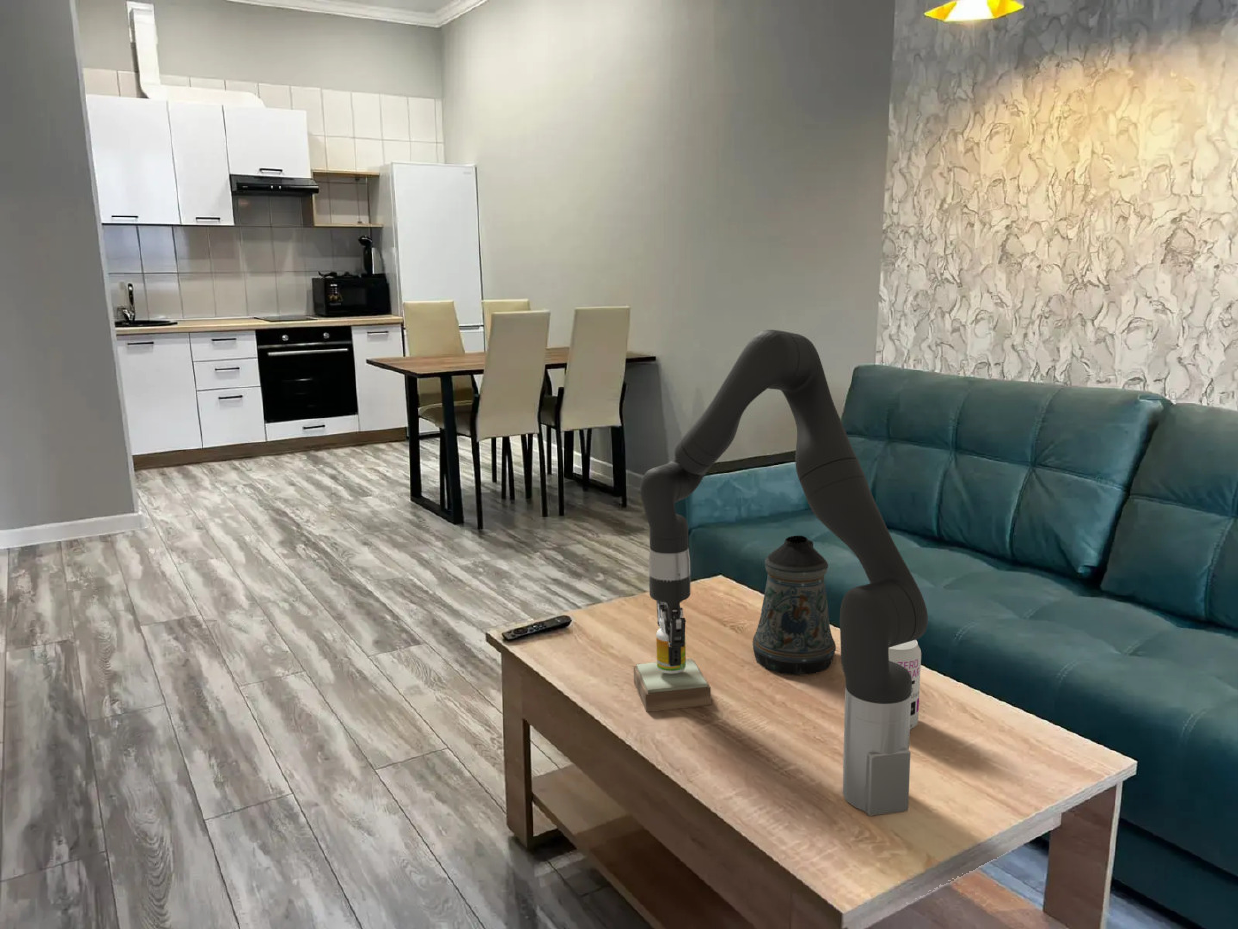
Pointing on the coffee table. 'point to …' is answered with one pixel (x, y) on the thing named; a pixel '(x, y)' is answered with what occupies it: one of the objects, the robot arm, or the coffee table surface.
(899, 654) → the supplement can
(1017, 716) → the coffee table surface
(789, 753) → the coffee table surface
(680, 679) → the plinth
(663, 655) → the supplement bottle
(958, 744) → the coffee table surface
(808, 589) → the painted ceramic vase
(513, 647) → the coffee table surface
